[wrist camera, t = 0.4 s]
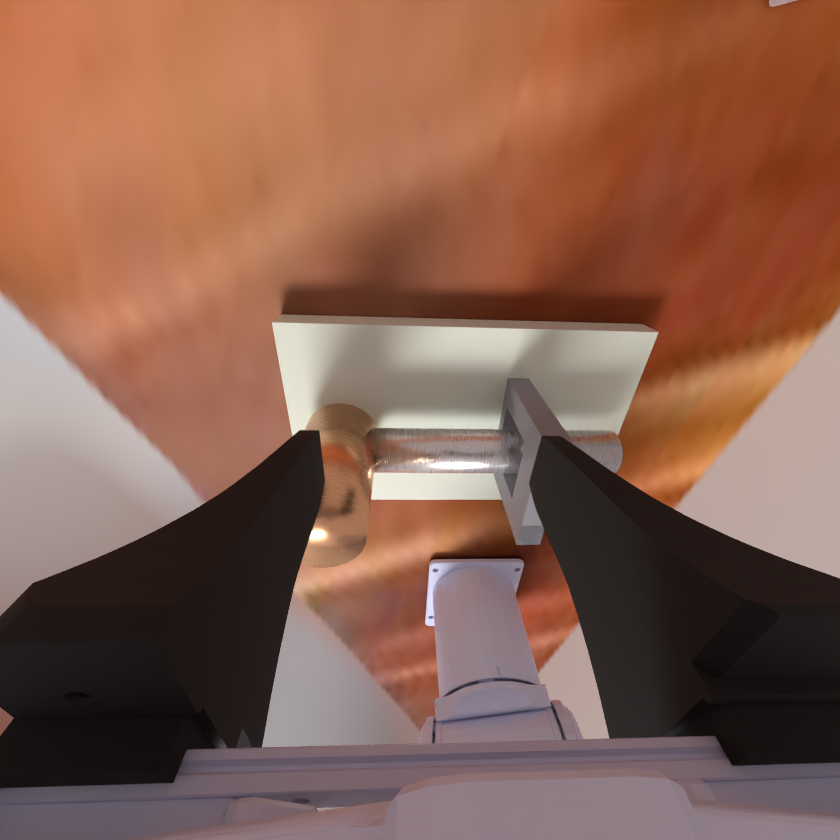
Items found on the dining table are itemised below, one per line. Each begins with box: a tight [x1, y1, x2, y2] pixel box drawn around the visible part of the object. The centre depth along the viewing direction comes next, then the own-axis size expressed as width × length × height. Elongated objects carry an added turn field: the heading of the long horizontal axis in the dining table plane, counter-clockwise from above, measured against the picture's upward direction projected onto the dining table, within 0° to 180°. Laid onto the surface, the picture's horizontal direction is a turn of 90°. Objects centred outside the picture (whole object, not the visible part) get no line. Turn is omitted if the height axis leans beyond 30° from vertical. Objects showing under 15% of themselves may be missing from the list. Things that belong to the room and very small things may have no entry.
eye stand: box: [272, 314, 658, 545], centre depth 19 cm, size 12×20×8 cm, turn 88°
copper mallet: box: [301, 403, 623, 568], centre depth 17 cm, size 4×17×7 cm, turn 88°
